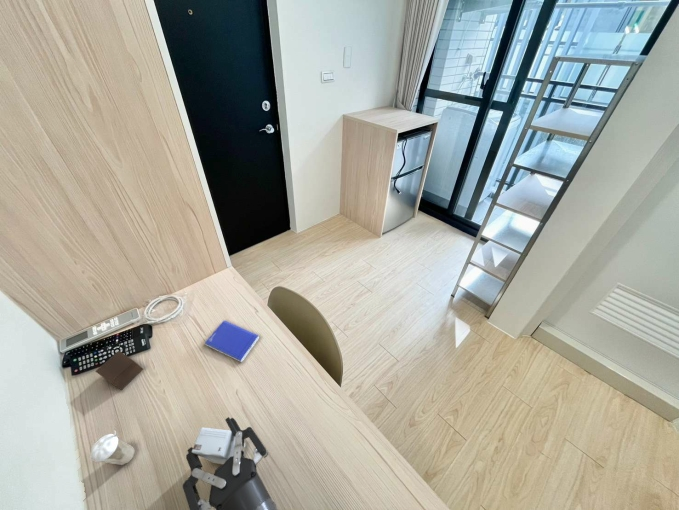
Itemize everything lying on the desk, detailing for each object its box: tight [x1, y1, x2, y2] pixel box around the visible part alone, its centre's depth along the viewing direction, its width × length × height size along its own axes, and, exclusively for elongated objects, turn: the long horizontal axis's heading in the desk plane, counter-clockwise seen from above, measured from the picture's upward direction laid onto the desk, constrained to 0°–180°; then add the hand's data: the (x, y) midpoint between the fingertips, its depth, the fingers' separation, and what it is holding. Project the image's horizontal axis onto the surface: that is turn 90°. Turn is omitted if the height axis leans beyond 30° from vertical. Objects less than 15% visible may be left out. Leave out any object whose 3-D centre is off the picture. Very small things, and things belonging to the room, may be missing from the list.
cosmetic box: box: [192, 427, 247, 465], centre depth 55 cm, size 6×4×12 cm
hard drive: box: [204, 320, 260, 363], centre depth 77 cm, size 2×8×12 cm
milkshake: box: [89, 428, 136, 466], centre depth 55 cm, size 4×5×10 cm
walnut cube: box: [95, 350, 144, 391], centre depth 69 cm, size 6×6×5 cm
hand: (209, 433), depth 53 cm, fingers closed on cosmetic box, 7 cm apart
